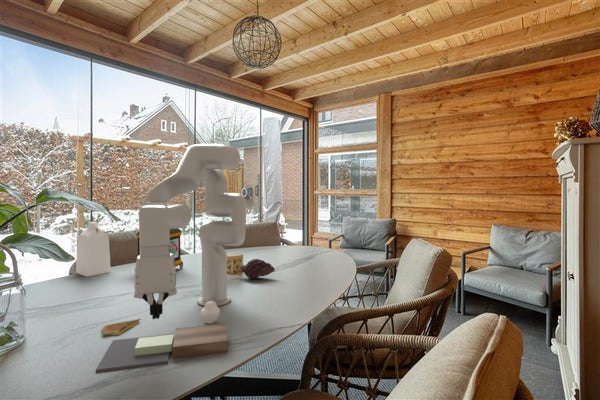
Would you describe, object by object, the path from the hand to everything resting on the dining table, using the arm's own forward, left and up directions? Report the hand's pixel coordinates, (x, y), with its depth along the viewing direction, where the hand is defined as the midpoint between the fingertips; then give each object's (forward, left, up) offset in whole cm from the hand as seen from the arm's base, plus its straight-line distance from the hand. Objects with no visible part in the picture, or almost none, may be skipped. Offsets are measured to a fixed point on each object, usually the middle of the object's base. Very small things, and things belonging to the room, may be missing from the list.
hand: (156, 316), depth 90 cm
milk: (-96, -42, -9) cm, 105 cm away
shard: (-17, -13, -10) cm, 24 cm away
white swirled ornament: (-15, +15, -9) cm, 23 cm away
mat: (+1, -4, -9) cm, 10 cm away
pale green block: (+1, 0, -7) cm, 7 cm away
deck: (+1, +12, -9) cm, 15 cm away
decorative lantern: (-90, -9, -9) cm, 91 cm away
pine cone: (-63, +38, -9) cm, 74 cm away
